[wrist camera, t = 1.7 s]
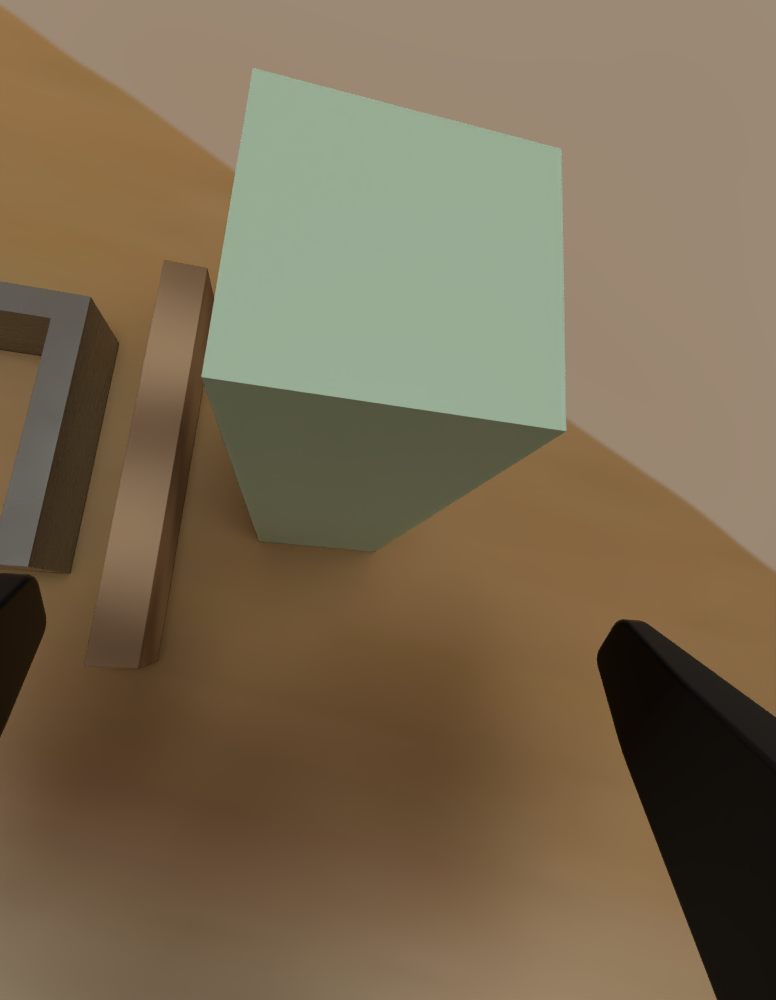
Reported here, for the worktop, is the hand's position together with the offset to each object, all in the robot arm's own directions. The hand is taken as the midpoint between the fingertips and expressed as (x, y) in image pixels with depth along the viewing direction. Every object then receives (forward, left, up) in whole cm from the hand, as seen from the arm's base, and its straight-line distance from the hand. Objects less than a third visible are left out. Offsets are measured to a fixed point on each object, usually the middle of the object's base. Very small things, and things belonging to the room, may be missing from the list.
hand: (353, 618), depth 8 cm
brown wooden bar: (+5, +6, -11) cm, 14 cm away
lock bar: (+5, 0, -11) cm, 12 cm away
